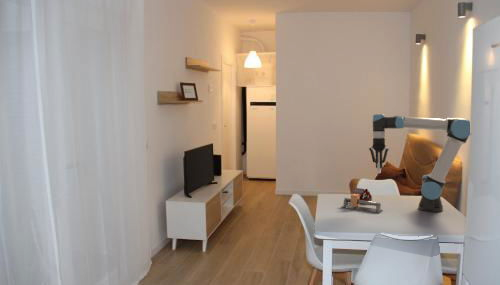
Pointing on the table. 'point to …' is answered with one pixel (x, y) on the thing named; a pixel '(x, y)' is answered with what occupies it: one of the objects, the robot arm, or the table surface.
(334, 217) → the table surface
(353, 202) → the collar
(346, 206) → the rail
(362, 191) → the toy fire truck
